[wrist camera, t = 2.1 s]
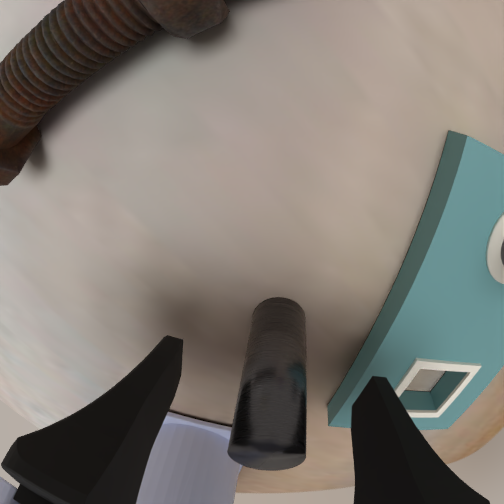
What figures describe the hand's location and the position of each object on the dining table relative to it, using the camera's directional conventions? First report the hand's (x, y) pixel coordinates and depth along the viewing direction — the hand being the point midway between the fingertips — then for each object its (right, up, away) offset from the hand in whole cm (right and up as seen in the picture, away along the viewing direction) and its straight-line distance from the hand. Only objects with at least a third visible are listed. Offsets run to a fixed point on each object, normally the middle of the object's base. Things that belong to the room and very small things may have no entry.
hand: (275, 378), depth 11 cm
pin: (0, +2, +3) cm, 4 cm away
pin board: (+10, +1, +2) cm, 10 cm away
